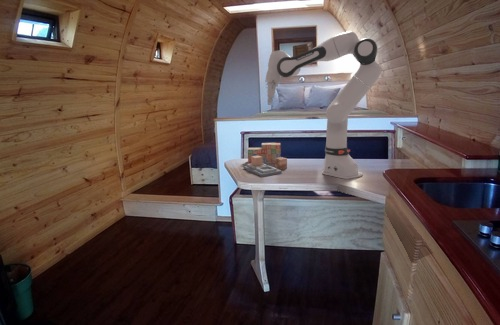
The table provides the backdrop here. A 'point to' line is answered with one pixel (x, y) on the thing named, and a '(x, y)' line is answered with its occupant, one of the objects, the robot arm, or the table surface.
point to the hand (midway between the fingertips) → (268, 103)
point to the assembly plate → (261, 167)
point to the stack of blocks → (266, 152)
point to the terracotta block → (281, 163)
